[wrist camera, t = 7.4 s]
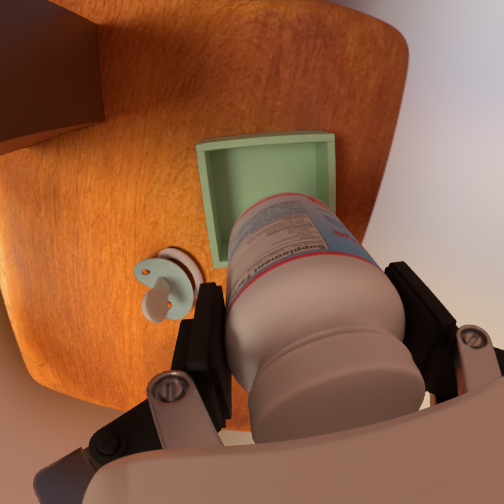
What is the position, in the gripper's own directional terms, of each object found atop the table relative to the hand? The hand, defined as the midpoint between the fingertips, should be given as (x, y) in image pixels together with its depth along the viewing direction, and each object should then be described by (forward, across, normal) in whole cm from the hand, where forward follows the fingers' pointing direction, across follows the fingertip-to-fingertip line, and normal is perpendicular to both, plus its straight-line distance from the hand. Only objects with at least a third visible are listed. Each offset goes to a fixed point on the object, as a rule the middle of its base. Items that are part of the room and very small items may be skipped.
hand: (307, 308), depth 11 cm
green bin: (+18, 0, 0) cm, 18 cm away
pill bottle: (+6, 0, 0) cm, 6 cm away
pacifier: (+18, +10, +8) cm, 22 cm away
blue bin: (+18, +19, -14) cm, 29 cm away
